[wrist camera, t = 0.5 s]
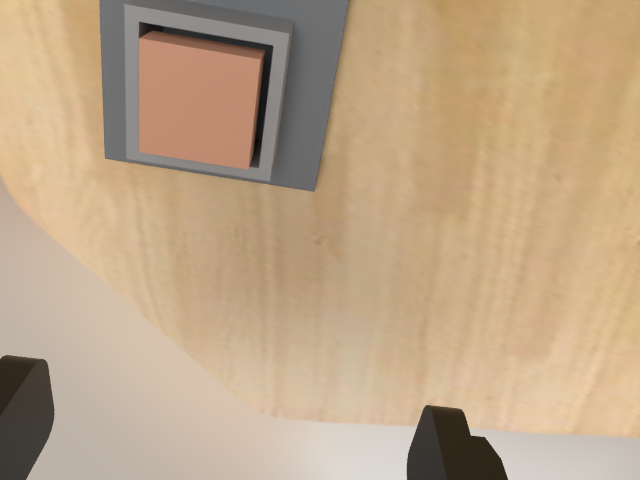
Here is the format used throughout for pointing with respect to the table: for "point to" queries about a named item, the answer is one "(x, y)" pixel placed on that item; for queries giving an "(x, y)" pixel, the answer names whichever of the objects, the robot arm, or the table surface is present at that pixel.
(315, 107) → the key panel
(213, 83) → the terracotta key
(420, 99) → the table surface
